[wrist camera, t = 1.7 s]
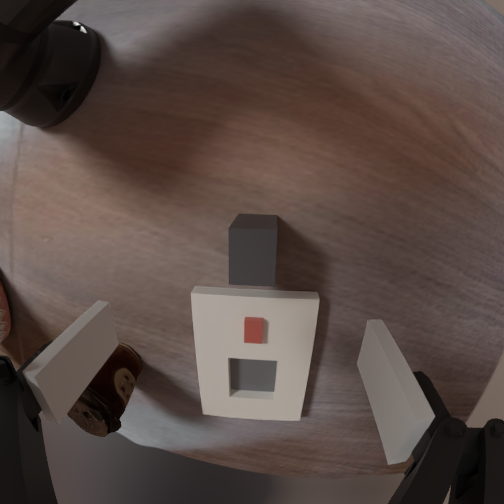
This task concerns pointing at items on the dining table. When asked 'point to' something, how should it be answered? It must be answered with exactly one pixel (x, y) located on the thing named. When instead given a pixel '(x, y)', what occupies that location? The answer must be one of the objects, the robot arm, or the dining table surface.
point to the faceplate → (253, 350)
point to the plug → (253, 250)
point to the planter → (4, 315)
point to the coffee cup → (107, 393)
